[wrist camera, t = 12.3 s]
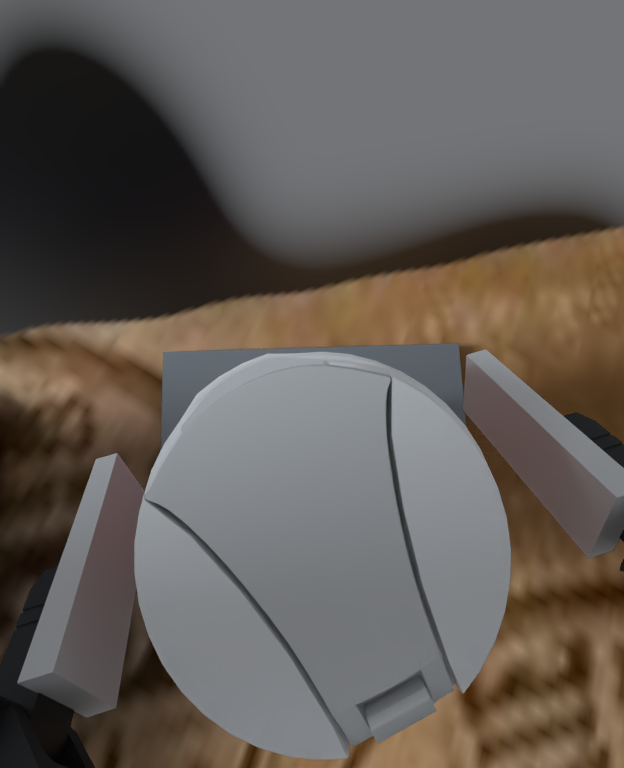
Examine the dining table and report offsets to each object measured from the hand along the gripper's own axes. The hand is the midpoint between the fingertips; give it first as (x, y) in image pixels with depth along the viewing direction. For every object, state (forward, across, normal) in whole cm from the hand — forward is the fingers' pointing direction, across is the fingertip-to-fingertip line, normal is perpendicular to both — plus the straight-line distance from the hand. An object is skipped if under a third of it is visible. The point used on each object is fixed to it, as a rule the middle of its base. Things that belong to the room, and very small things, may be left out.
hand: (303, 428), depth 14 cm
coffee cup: (+4, 0, -8) cm, 9 cm away
